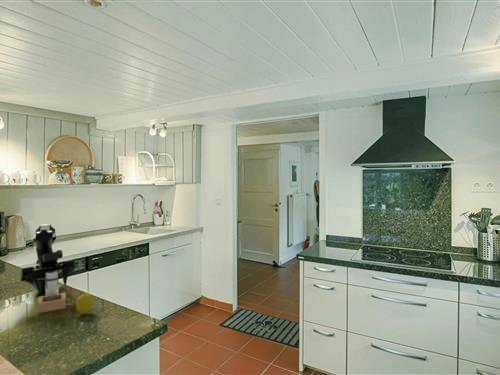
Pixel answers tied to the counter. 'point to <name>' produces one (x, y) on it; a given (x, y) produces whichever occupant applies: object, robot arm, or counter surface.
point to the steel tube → (51, 285)
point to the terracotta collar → (51, 303)
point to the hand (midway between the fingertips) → (52, 287)
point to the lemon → (84, 303)
